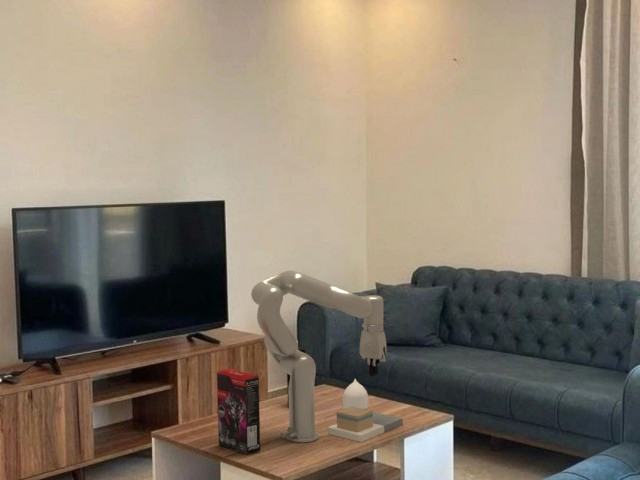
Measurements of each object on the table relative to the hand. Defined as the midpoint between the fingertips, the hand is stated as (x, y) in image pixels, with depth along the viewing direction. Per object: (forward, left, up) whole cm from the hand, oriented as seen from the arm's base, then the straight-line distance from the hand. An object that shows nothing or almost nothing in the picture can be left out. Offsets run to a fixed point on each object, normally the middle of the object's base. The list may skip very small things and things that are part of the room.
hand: (373, 375), depth 306 cm
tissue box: (+2, +42, -20) cm, 47 cm away
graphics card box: (-50, +22, -20) cm, 58 cm away
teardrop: (+16, +22, -20) cm, 34 cm away
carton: (-12, 0, -17) cm, 21 cm away
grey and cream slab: (-6, 0, -20) cm, 20 cm away
